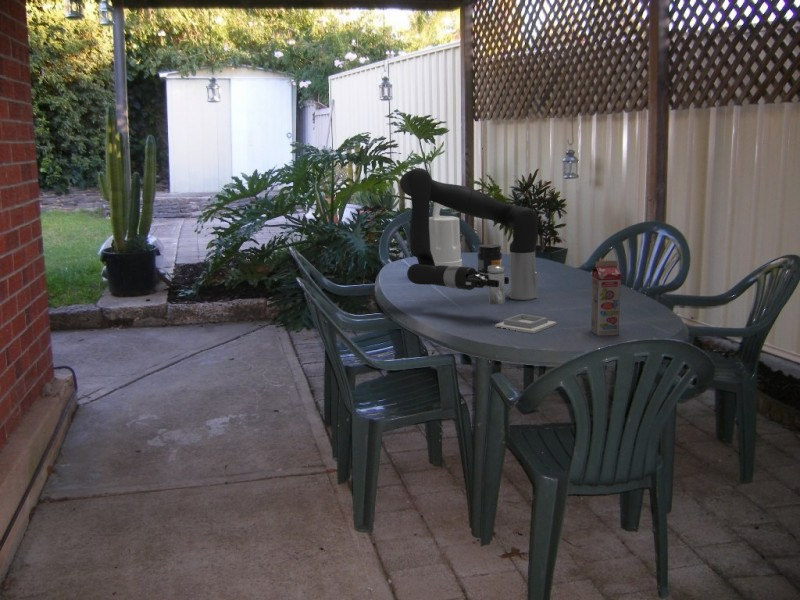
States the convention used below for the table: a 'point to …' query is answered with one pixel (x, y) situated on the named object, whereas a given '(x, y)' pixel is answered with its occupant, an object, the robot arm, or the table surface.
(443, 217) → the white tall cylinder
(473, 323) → the table surface
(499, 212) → the robot arm
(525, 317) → the duct flange
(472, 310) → the table surface
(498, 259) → the supplement container
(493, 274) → the grey canister
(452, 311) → the table surface
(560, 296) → the table surface
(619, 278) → the juice carton
